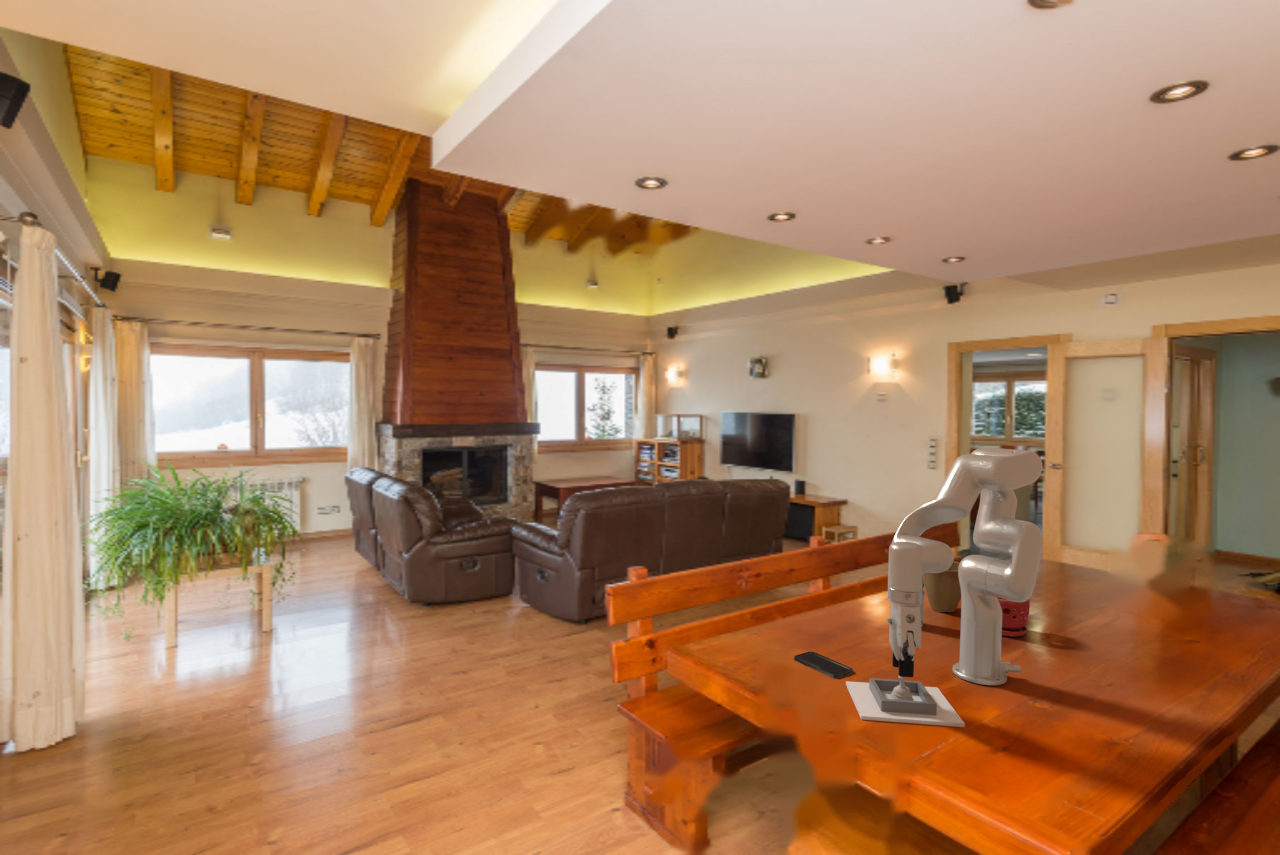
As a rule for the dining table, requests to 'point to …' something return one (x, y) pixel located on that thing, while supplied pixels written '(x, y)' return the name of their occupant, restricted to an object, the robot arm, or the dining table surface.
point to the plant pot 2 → (1014, 617)
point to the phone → (823, 664)
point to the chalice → (901, 690)
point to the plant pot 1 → (943, 589)
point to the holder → (902, 703)
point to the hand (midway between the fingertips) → (902, 670)
